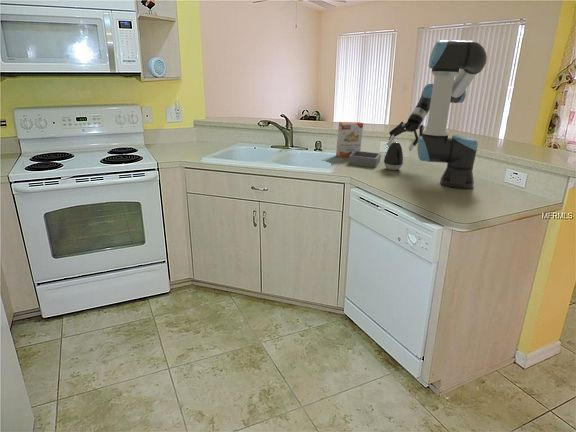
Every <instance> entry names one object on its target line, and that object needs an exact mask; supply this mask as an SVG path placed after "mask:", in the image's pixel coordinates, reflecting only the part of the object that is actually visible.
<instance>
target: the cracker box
mask: <svg viewBox="0 0 576 432" xmlns="http://www.w3.org/2000/svg"><path fill="white" fill-rule="evenodd" d="M363 129H364V123H363V122H361V121H339V122H338V130H337V141H336V151H335V152H336V153H335V155H336V156H337V157H338V158H349V155H351V154H352V153H353V152H354V151H361V147H362V146H361V145H362V138H363Z"/></svg>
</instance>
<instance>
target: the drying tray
mask: <svg viewBox="0 0 576 432" xmlns="http://www.w3.org/2000/svg"><path fill="white" fill-rule="evenodd" d="M381 157H382V153H381V152H380V153H379V152H371V151H362V150H360V151H354V152H353V153H352V154H351V155H349V157H348V165H352V166H360V167H368V168H377V166H378V165H379V164H380V162H381Z"/></svg>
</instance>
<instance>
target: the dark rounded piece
mask: <svg viewBox="0 0 576 432" xmlns="http://www.w3.org/2000/svg"><path fill="white" fill-rule="evenodd" d="M383 164H384V167H385V169H387V170H388V171H389V170H390V171H398V170H399V169H401V168H402V166H403V164H404V152H403V148H402V145H401V143H400V142H398V141H393V142H392V144H391V145H390V146H389V147H388V148H387V150H386V152H385V155H384V158H383Z"/></svg>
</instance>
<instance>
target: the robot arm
mask: <svg viewBox="0 0 576 432" xmlns="http://www.w3.org/2000/svg"><path fill="white" fill-rule="evenodd" d="M487 59H488V56H487V52H486V49H485V47H483V45H482V44H480V42H477V41H474V40H453V39H443V40H437V41H436V42H435V44H434V46H433V48H432V51H431V53H430V57H429V63H428V67H429V69H431V74H432V75H433V76H434V77H433V83H432V82H430V83H427V84H426V85H424V87H423V89H422V91H421V95H420V98H419V100H418V103H417V104H416V106H415V107H414V109H413V110H412V111H411V114H410V115H409V117H408V118H407V121H406V122H404V121H401V122H400V123H399V124H398V125H396V126H395V127H394V128H393V129H392V130H390V131H389V132H388V134H389V137H388V141H387V143H386V145H387V147H388V148H389V146H390V145H391V144H392V143H393V142H395V139H396V137H397V136H400V135H401V134H403V133H405V132H410V133H414V136H415V137H414V138H413V139H412V141H411V143H410V144H409V146H408V150H409V152H412V150H413V149H414V147H415V146H417V156H418V159H419V161H422V162H427V163H444V164H445V163H446V164H447V165H446V168H445V170H444V172H443V174H442V175H441V177H440V184H441V185H443V186H445V187H448V188H452V187H453V189H459V188H461V189H460V190H465V188H469V189H472V188H474V184H475V180H474V174H473V173H474V172H473V168H474V164H475V161H476V155H477V152H478V144H479V143H478V141H477V139H474V138H471V137H468V136H463V135H457V134H456V135H455V134H453V135H452V136H451V138H449V133H448V132H447V125H448V124H447V123H448V118H449V111H450V106H451V104H461V103H463V102H465V99H466V97H467V96H466V95H467V93H466V92H467V89H468V87H469V85H470V84H471V83H472V81H473V80H474V78H475V77H476V75H478V74H479V73H481V72H482V71H483V69H484V68H485V66H486V64H487ZM427 115H428V118H427V125H426V129H425V128H424V124H423V121H424V120H425V118H426V116H427ZM418 129H419V134H418V133H417V130H418ZM424 129H425V130H424ZM471 187H472V188H471Z"/></svg>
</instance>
